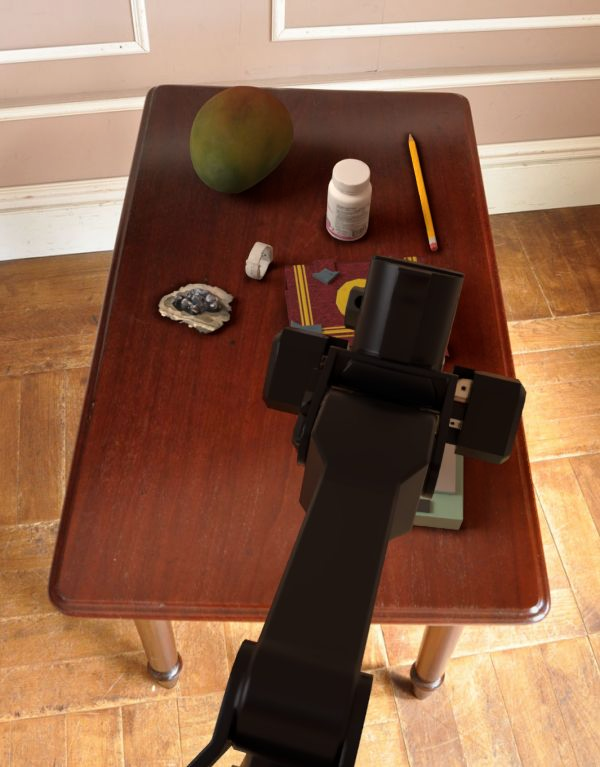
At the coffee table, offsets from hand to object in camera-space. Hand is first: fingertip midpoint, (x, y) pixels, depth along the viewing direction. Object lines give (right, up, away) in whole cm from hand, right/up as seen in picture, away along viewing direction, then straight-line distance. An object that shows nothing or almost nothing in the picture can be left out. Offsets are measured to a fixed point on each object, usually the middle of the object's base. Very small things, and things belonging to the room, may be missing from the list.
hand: (398, 375), depth 72 cm
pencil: (+6, +22, +30) cm, 38 cm away
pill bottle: (-3, +17, +26) cm, 32 cm away
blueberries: (-19, +7, +19) cm, 28 cm away
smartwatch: (-13, +11, +22) cm, 28 cm away
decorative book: (-1, +5, +19) cm, 19 cm away
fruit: (-15, +24, +31) cm, 42 cm away
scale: (+1, -8, +9) cm, 13 cm away
